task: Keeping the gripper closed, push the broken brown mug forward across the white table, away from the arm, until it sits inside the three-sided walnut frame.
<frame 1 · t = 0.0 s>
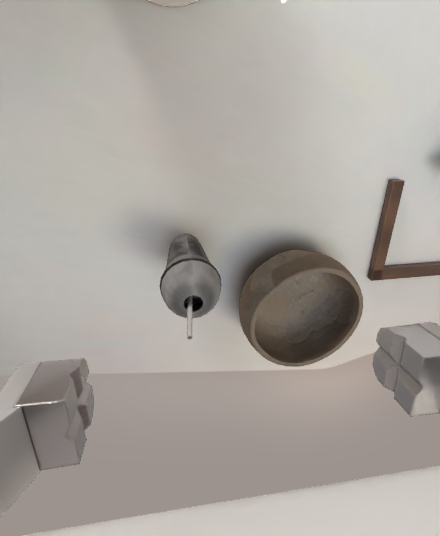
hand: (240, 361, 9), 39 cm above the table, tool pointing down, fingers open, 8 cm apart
bowl: (284, 286, 55), on the table
beverage cup: (185, 248, 49), on the table
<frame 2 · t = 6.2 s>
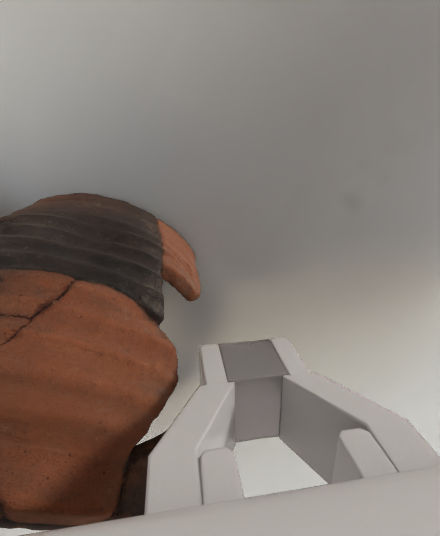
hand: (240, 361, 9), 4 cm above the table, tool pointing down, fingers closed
broken brown mug: (64, 301, 12), on the table, touching gripper
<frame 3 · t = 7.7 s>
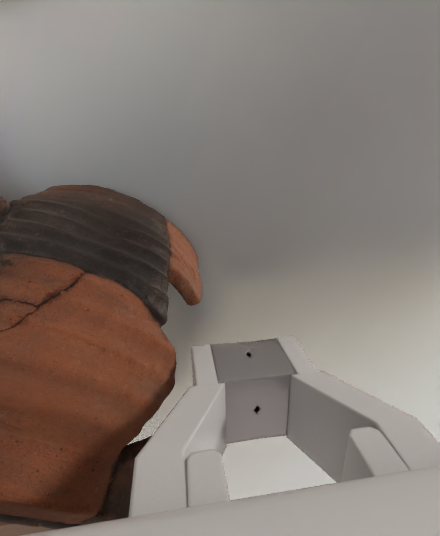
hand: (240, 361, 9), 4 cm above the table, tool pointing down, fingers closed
broken brown mug: (60, 291, 12), on the table, touching gripper
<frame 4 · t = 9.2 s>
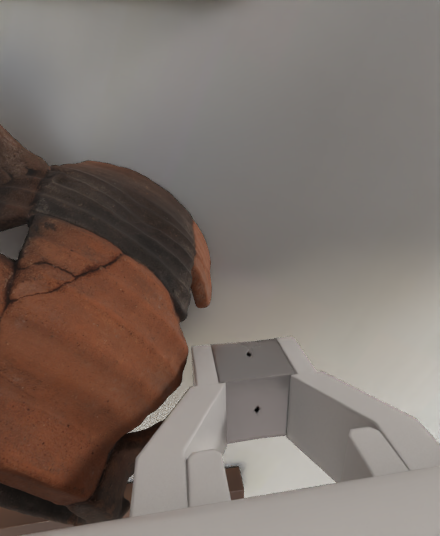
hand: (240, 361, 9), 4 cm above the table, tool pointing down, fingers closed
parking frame: (23, 309, 12), on the table
broken brown mug: (65, 265, 12), on the table, touching gripper
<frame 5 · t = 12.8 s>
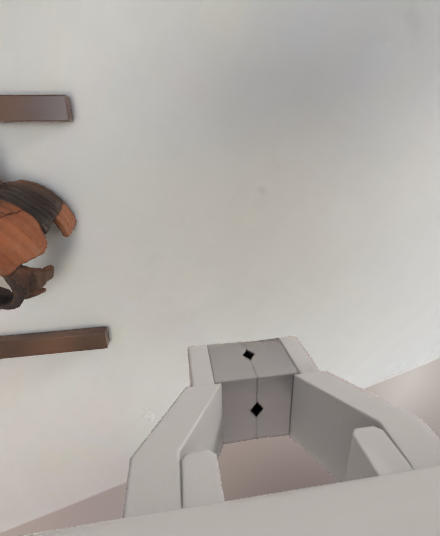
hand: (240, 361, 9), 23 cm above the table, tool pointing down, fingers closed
broken brown mug: (14, 222, 29), on the table
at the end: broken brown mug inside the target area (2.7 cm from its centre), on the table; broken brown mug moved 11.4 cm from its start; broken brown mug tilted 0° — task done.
